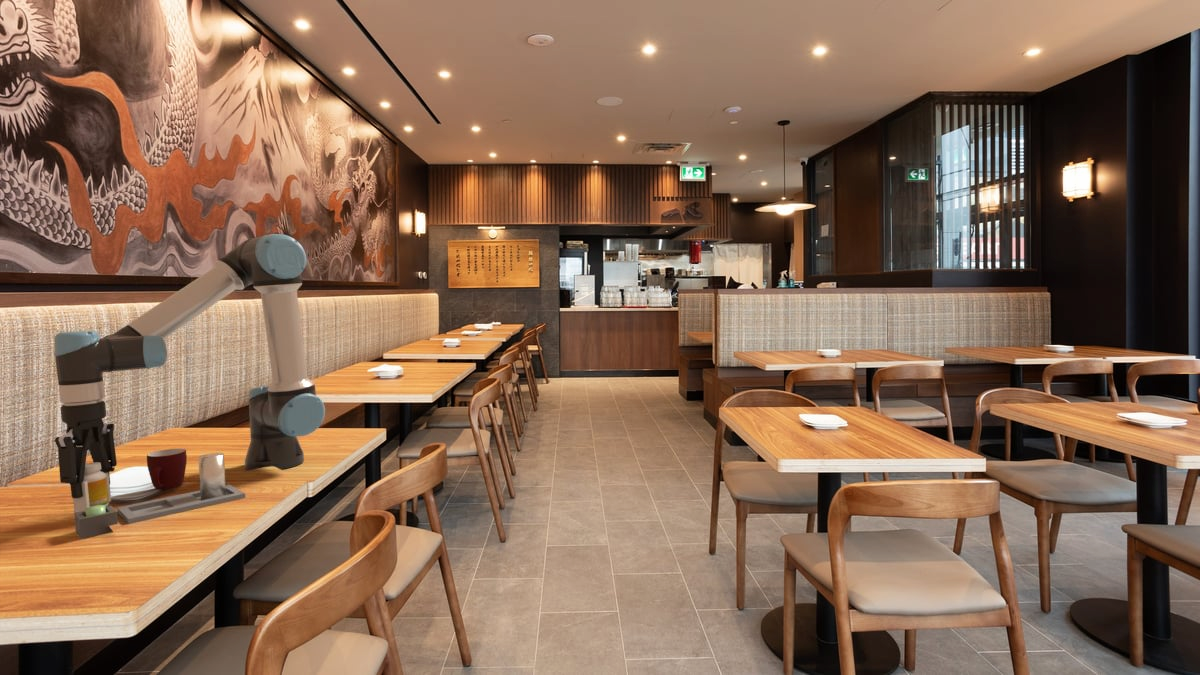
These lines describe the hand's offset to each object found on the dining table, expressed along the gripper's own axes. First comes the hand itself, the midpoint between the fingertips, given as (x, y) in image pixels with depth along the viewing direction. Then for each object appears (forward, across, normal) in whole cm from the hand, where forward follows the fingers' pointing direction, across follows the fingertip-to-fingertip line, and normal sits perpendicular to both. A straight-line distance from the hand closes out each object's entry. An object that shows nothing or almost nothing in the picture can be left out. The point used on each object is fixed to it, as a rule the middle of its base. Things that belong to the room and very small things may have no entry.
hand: (93, 506), depth 137 cm
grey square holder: (+3, +9, +7) cm, 11 cm away
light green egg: (+2, +9, +7) cm, 11 cm away
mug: (+3, -16, +5) cm, 18 cm away
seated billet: (+2, -7, +22) cm, 23 cm away
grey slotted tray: (+3, -3, +18) cm, 18 cm away
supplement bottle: (+1, 0, 0) cm, 1 cm away
